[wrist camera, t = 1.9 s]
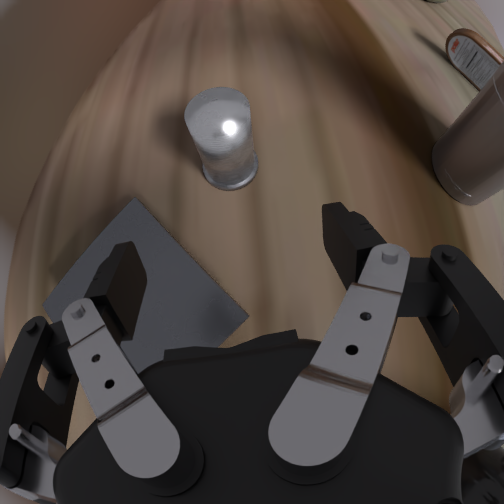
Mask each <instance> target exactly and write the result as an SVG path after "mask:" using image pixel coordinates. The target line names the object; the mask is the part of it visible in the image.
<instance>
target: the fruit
mask: <svg viewBox="0 0 504 504" xmlns="http://www.w3.org/2000/svg"><path fill="white" fill-rule="evenodd" d="M427 1H430V2H435V3H443V2H446V1H448V0H427Z"/></svg>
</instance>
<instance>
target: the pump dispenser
mask: <svg viewBox="0 0 504 504" xmlns="http://www.w3.org/2000/svg"><path fill="white" fill-rule="evenodd" d="M461 495H462V501H463V504H504V449H503V448H502V447H501V446H500V447H499V448H497V449H495V450H485V449H482V450H480V451H478V452H476V453H474V454H473V455H471V456H469V457H467V458H465V459H463V463H462V471H461Z"/></svg>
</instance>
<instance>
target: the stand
mask: <svg viewBox="0 0 504 504" xmlns="http://www.w3.org/2000/svg"><path fill="white" fill-rule="evenodd" d="M128 241H132V242H133V243H134V244H135V246H136V249H137V251H138V254H139V256H140V259H141V261H142V264H143V266H144V268H145V271H146V274H147V286H146V290H145V293H144V297H143V301H142V304H141V308H140V312H139V316H138V320H137V324H136V328H135V332H134V336H133V340H131V341H121V345H120V346H121V348H122V349H123V351H124V352H125V354H126V355H127V357H128V358H129V360H130V361H131V363H132V364H133V366H134V367H135V369H136V370H137V372H138V373H140V372H141V371H142V370H144V369H145V368H147V367H148V366H150V365H152V364H154V363H156V362H158V361H161V360H163V357H164V350H166V349H175V348H183V347H191V346H201V347H215V348H218V347H219V346H220V345H221V344H222V343H223V342H224V341H225V340H226V339H227V338H228V337H229V336H230V335H231V334H232V333H233V332H234V331H235V330H236V329H237V328H238V327H239V326H240V325H241V324H242V323H243V322H244V321H245V320H246V319H247V318H248V317H249V315H248V314H247V313H246V312H245V311H244V310H243V309H242V308H241V307H240V306H239V305H238V304H237V303H236V302H235V301H234V300H233V299H232V298H231V297H230V296H229V295H228V294H227V293H226V292H225V291H224V290H223V289H222V288H221V287H220V286H219V285H218V284H217V283H216V282H215V281H214V280H213V279H212V278H211V277H210V276H209V275H208V273H207V272H206V271H205V270H204V269H203V268H202V267H201V266H200V265H199V264H198V263H197V262H196V261H195V260H194V259H193V258H192V257H191V256H190V255H189V254H188V253H187V252H186V251H185V250H184V248H183V247H182V246H181V245H180V244H179V243H178V242H177V241H176V240H175V239H174V238H173V237H172V236H171V235H170V234H169V232H168V231H167V230H166V229H165V228H164V227H163V226H162V225H161V224H160V223H159V222H158V221H157V220H156V218H155V217H154V216H153V215H152V214H151V213H150V212H149V211H148V210H147V209H146V207H145V206H144V205H143V204H142V203H141V202H140V201H139V200H138V199H137V198H136V197H134V198H133V199H132V200H131V201H130V202H129V203H128V204H127V205H126V207H125V208H124V209H123V210H122V211H121V212H120V213H119V214H118V215H117V216H116V217H115V218H114V219H113V220H112V221H111V222H110V223H109V225H108V226H107V227H106V228H105V229H104V230H103V231H102V232H101V233H100V234H99V236H98V237H97V238H96V239H95V240H94V241H93V242H92V244H91V245H90V246H89V247H88V248H87V249H86V251H85V252H84V253H83V254H82V255H81V256H80V258H79V259H78V260H77V261H76V262H75V264H74V265H73V266H72V267H71V268H70V270H69V271H68V272H67V273H66V275H65V276H64V277H63V278H62V280H61V281H60V282H59V284H58V285H57V286H56V287H55V289H54V290H53V291H52V293H51V294H50V295H49V297H48V298H47V299H46V301H45V302H44V303H43V307H44V309H45V311H46V312H47V314H48V316H49V317H50V319H51V320H52V322H53V323H55V322H58V321H60V320H62V315H63V312H64V311H65V309H66V308H67V307H68V306H69V305H70V304H71V303H73V302H74V301H76V300H79V299H82V298H84V296H85V293H86V291H87V289H88V287H89V285H90V283H91V281H93V277H94V275H95V274H96V271H97V269H98V267H99V265H100V264H101V263H102V262H103V261H104V260H105V259H106V258H107V257H109V255H110V253H111V251H112V249H113V247H114V246H115V245H116V244H119V243H124V242H128Z"/></svg>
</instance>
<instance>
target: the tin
mask: <svg viewBox="0 0 504 504" xmlns="http://www.w3.org/2000/svg"><path fill="white" fill-rule="evenodd" d="M445 47H446V53H447V56H448V58H449V60H450V62H451V63H452V64H453V66H454V67H455V68H456V69H457V70H458V71H459V72H461V73H462V74H463V75H464V76H465V77H466V78H467V79H468V80H469V81H470V82H471V83H472V84H473V85H474V86H475V87H476V88H477V89H478V90H479V91H480V90H481V89H482V88H483V87H484V85H485V84H486V83H487V82H488V80H489V79H490V78H491V77H492V75H493V74H494V73H495V71H496V70H497V69H498V67H499V66H500V65H501V63H502V62H503V61H504V57H503V56H502V55H501V54H500V53H499V52H498V51H497V50H496V49H495V48H493V47H492V46H491V45H490V44H489V43H488V42H487V41H486V40H485V39H484V38H483V37H481V36H480V35H479V34H478V33H476V32H474V31H472V30H470V29H464V28H461V29H457V30H455V31H454V32H453V33H451V34H450V35H449V36H448V38H447V40H446V46H445Z"/></svg>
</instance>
